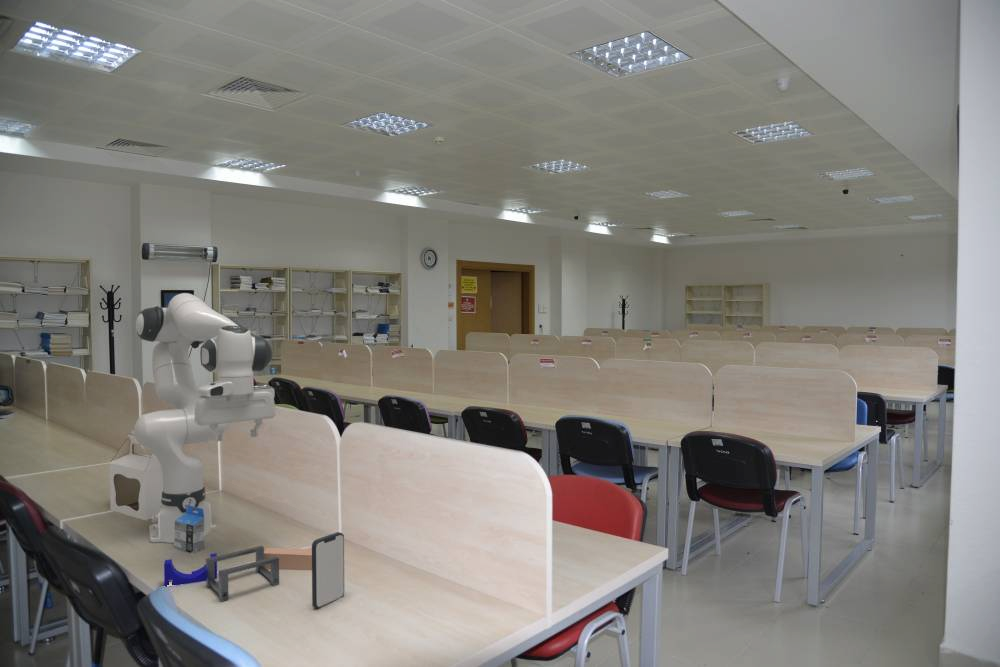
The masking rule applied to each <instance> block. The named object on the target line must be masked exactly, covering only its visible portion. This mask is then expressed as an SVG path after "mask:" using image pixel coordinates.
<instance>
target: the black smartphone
mask: <svg viewBox="0 0 1000 667" xmlns="http://www.w3.org/2000/svg"><path fill="white" fill-rule="evenodd" d="M311 549H312V570H311V586H312V587H311V591H312V593H311V602H312V603H311V604H312V607H314V608H315V609H321V608H323V607H326V606H327V605H329V604H332V603H333V602H335V601H337V600H339V599H342V598H343V597H344V596H345V537H344V534H343V533H342V532H340V531H338V532H334V533H331V534H328V535H325V536H322V537H320V538H319V537H318V538H317V539H314V540H313V542H312V543H311Z"/></svg>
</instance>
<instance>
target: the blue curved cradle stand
mask: <svg viewBox="0 0 1000 667" xmlns="http://www.w3.org/2000/svg"><path fill="white" fill-rule="evenodd" d="M215 556H218V554H217V552H215V553H210V554H209V558H211V557H215ZM217 562H218V561H217ZM217 562H215V580H218V563H217ZM163 571H164V572H163V573H164V574H163V577H164V578H163V579H164V586H166V587H165V588H168V587H167V585H169V581H172V585H176V586H180V585H181V584H183V585H190V584H194V583H195V584H196V583H200V582H201V583H202V582H206V563H205V564H204V565H203V566H202V567H201V568H199V569H197V570H193V571H191V573H183V572H180V571H179V570H178V569H177V568H176V567H175V566H174V563H173V559H172V558H170V559H165V560H164V564H163ZM181 586H182V585H181Z"/></svg>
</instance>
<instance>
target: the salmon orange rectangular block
mask: <svg viewBox="0 0 1000 667" xmlns="http://www.w3.org/2000/svg"><path fill="white" fill-rule="evenodd" d="M276 556H277V557H278V558H279V570H282V571H284V570H285V571H286V570H290V571H292V570H293V571H312V548H308V549H307V548H284V547H283V548H282V547H267V548H266V549H265V548H264V559H268V558H272V557H276ZM264 567H265V568H266V569H267V570H270V564H266V565H264Z"/></svg>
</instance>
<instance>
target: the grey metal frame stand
mask: <svg viewBox="0 0 1000 667" xmlns="http://www.w3.org/2000/svg"><path fill="white" fill-rule="evenodd" d="M264 550H265V547H264V546H263V545H258V546H257V545H256V546H253V547H249V548H246V549H241V550H238V551H237V550H236V551H233V552H228V553H224V554H219V555H217V556H215V557H211V558H210V557H207V558H205V564H206V581H205V583H206V584H205V585H206V586H205V587H206V588H208V589H210V588H213V589H214V590H215V591H216V593H218V596H219V597H218V598H219V599H218V600H219V602H221V603H222V602H226V601H229V575H231V574H234V573H238V572H239V573H240V572H243V571H246V570H250V569H255V572H256V573H257V574H262V575H264V576H265V577H266V578H267V579H269V580H270V586H272V587H276V586H279V585H280V569H279V558H278V557H277V556H276V557H272V558H268V559H264ZM254 553H255V561H254V562H249V563H243V564H241V565H237V566H233V567H229V568H224V569H221V570H218V582H217V581H216V579H215V562H222V561H225V560H229V559H234V558H237V557H241V556H245V555H249V554H250V555H251V554H254ZM266 564H270V569H266V568H265V567H264V565H266Z"/></svg>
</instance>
